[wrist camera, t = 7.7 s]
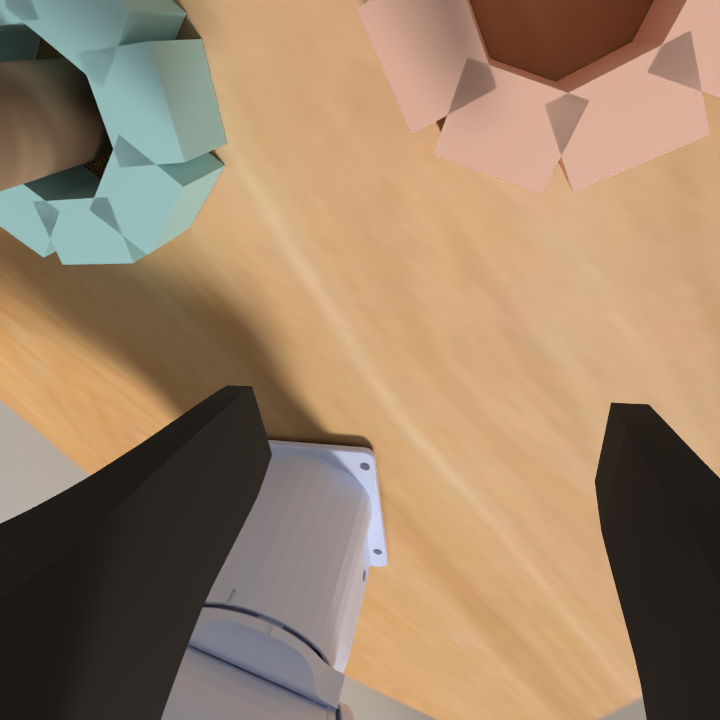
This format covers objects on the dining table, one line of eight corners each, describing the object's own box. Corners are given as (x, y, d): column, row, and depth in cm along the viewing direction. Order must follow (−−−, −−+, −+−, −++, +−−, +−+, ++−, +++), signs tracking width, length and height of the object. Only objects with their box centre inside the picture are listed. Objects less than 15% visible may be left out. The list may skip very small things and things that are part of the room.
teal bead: (248, 232, 19) (213, 261, 17) (50, 239, 22) (-5, 266, 19) (169, -96, 14) (101, -122, 12) (-82, -38, 17) (-180, -49, 14)
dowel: (150, 147, 18) (-35, 213, 12) (81, 157, 19) (-125, 222, 13) (114, 48, 17) (-124, 62, 10) (41, 64, 18) (-220, 85, 11)
